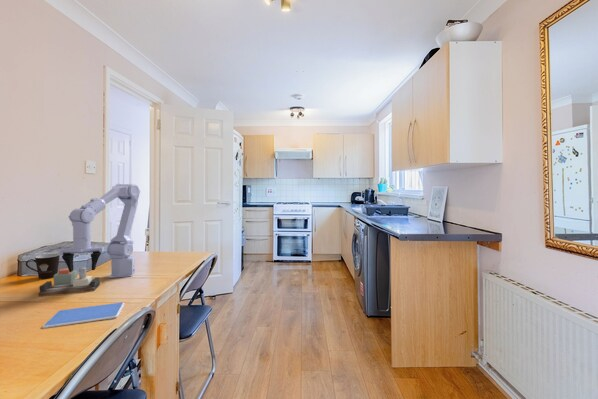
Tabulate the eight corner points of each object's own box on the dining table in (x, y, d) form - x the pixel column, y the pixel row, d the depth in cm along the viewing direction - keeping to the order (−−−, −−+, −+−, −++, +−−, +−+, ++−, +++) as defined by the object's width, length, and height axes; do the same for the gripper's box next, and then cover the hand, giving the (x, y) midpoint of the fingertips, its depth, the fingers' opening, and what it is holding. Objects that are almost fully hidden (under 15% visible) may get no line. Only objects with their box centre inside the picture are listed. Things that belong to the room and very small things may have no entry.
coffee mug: (65, 274, 135) (64, 254, 134) (47, 280, 126) (46, 258, 126) (43, 273, 136) (42, 253, 136) (24, 279, 127) (23, 257, 127)
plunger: (71, 277, 124) (71, 267, 124) (68, 280, 120) (68, 270, 120) (62, 278, 122) (62, 268, 122) (58, 280, 119) (58, 270, 119)
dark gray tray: (100, 284, 122) (100, 276, 122) (94, 290, 114) (94, 282, 114) (48, 289, 115) (48, 280, 115) (38, 296, 108) (38, 287, 108)
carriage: (92, 281, 119) (91, 266, 119) (88, 285, 115) (87, 269, 114) (77, 282, 118) (77, 267, 117) (73, 286, 113) (72, 270, 113)
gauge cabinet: (76, 281, 125) (76, 270, 125) (71, 285, 120) (71, 274, 120) (60, 282, 123) (59, 271, 123) (53, 287, 118) (53, 275, 118)
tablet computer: (40, 330, 83) (40, 326, 83) (58, 313, 95) (58, 309, 95) (117, 320, 90) (117, 316, 90) (124, 305, 102) (124, 301, 102)
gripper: (55, 240, 109) (56, 274, 110) (99, 238, 114) (100, 271, 115) (63, 237, 116) (64, 270, 116) (105, 235, 121) (105, 267, 121)
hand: (82, 270), depth 116 cm, fingers open, 7 cm apart
